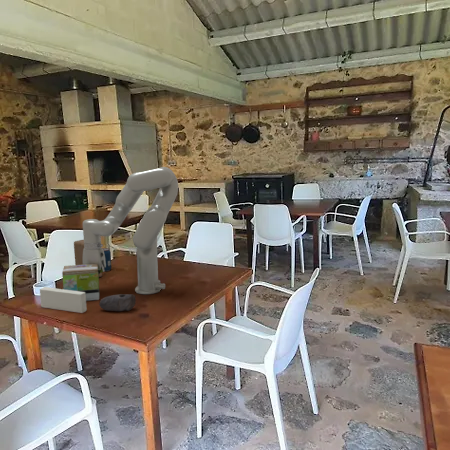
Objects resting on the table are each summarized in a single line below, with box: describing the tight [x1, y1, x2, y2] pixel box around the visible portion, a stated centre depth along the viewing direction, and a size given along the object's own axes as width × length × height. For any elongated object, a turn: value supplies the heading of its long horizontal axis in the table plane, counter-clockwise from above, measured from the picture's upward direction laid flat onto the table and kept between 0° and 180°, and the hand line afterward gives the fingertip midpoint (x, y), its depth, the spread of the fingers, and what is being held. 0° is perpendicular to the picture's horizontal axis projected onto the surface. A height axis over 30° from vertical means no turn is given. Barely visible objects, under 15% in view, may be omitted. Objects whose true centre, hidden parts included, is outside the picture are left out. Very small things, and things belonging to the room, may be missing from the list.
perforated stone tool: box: [99, 293, 137, 312], centre depth 167 cm, size 15×5×7 cm, turn 88°
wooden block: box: [73, 239, 103, 278], centre depth 210 cm, size 10×10×20 cm
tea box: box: [61, 264, 100, 302], centre depth 180 cm, size 15×10×15 cm, turn 107°
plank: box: [39, 286, 88, 314], centre depth 168 cm, size 21×3×8 cm, turn 71°
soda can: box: [102, 247, 112, 272], centre depth 223 cm, size 7×7×12 cm
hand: (95, 283), depth 189 cm, fingers closed
